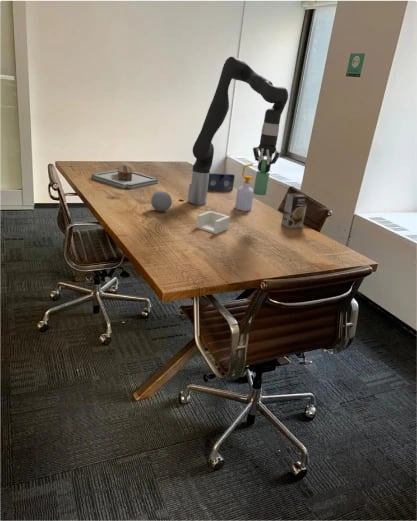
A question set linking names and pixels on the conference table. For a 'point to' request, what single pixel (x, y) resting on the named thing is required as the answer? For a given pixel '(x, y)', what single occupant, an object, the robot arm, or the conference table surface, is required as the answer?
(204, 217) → the u rest
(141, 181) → the grey square tray
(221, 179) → the vhs cassette tape
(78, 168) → the conference table surface
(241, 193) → the soap bottle
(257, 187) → the green bottle
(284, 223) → the coffee box
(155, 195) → the decorative stone
